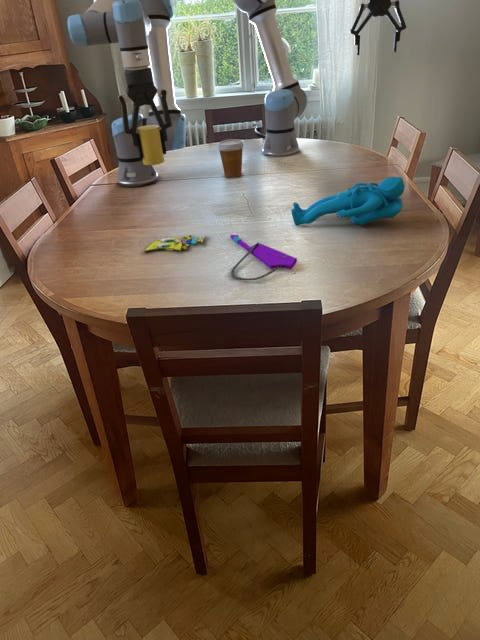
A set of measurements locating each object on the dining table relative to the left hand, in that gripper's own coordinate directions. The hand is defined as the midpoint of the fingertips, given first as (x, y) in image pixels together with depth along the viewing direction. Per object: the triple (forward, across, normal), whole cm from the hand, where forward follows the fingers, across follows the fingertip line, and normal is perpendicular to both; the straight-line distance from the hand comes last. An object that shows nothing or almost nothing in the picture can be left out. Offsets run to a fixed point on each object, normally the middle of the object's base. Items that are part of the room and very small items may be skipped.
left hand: (152, 154), depth 143 cm
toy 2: (+18, +44, -38) cm, 60 cm away
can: (+2, 0, 0) cm, 2 cm away
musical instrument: (+18, +11, -46) cm, 51 cm away
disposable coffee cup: (+18, +33, +25) cm, 45 cm away
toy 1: (+18, -2, -27) cm, 32 cm away
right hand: (-16, +96, +29) cm, 102 cm away
